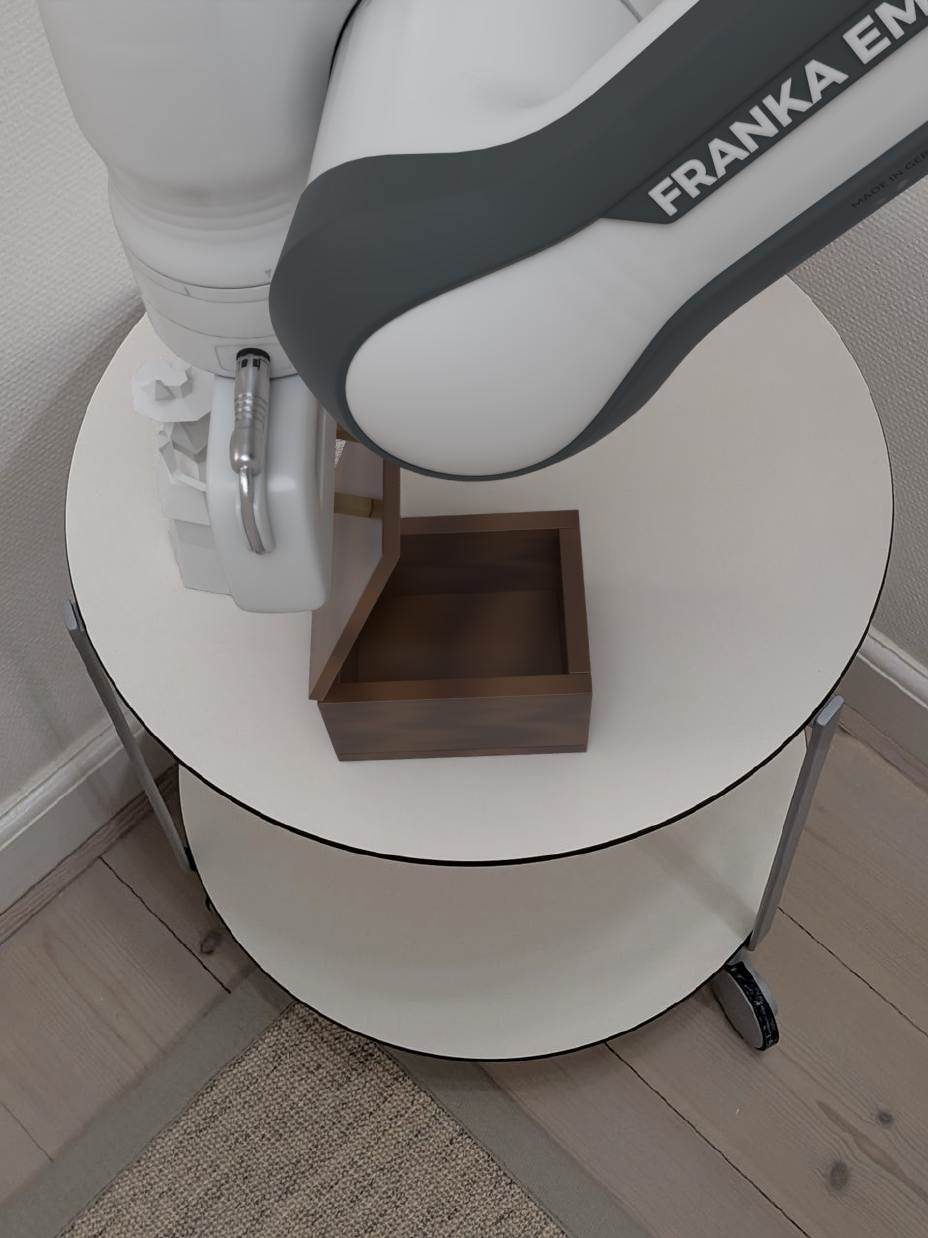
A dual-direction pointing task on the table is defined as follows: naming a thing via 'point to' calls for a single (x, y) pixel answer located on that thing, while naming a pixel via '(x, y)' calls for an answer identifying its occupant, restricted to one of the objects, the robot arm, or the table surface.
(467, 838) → the table surface
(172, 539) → the figurine
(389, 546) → the lid
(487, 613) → the chest
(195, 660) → the table surface
